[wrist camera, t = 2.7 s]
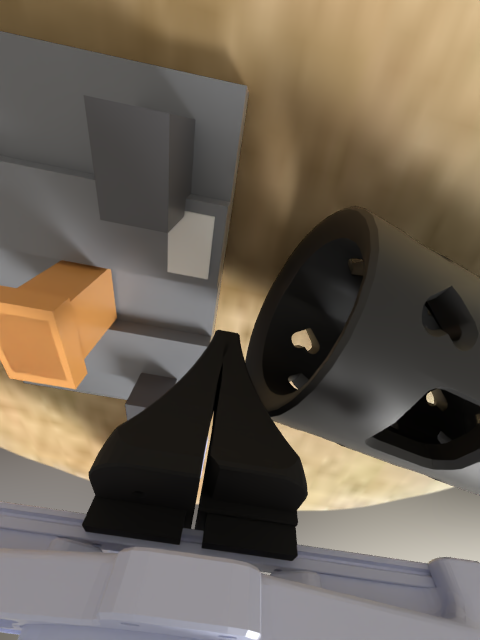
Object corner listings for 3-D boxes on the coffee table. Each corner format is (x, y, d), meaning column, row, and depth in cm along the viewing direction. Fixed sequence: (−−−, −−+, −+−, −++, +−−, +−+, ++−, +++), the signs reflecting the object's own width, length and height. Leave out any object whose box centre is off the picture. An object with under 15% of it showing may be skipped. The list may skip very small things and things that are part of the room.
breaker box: (204, 392, 23) (191, 455, 18) (41, 364, 22) (-16, 422, 18) (248, 92, 11) (240, 64, 7) (-92, 17, 11) (-352, -69, 6)
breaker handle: (122, 325, 16) (75, 389, 12) (73, 316, 16) (9, 378, 12) (115, 259, 14) (52, 311, 10) (57, 247, 14) (-32, 296, 9)
